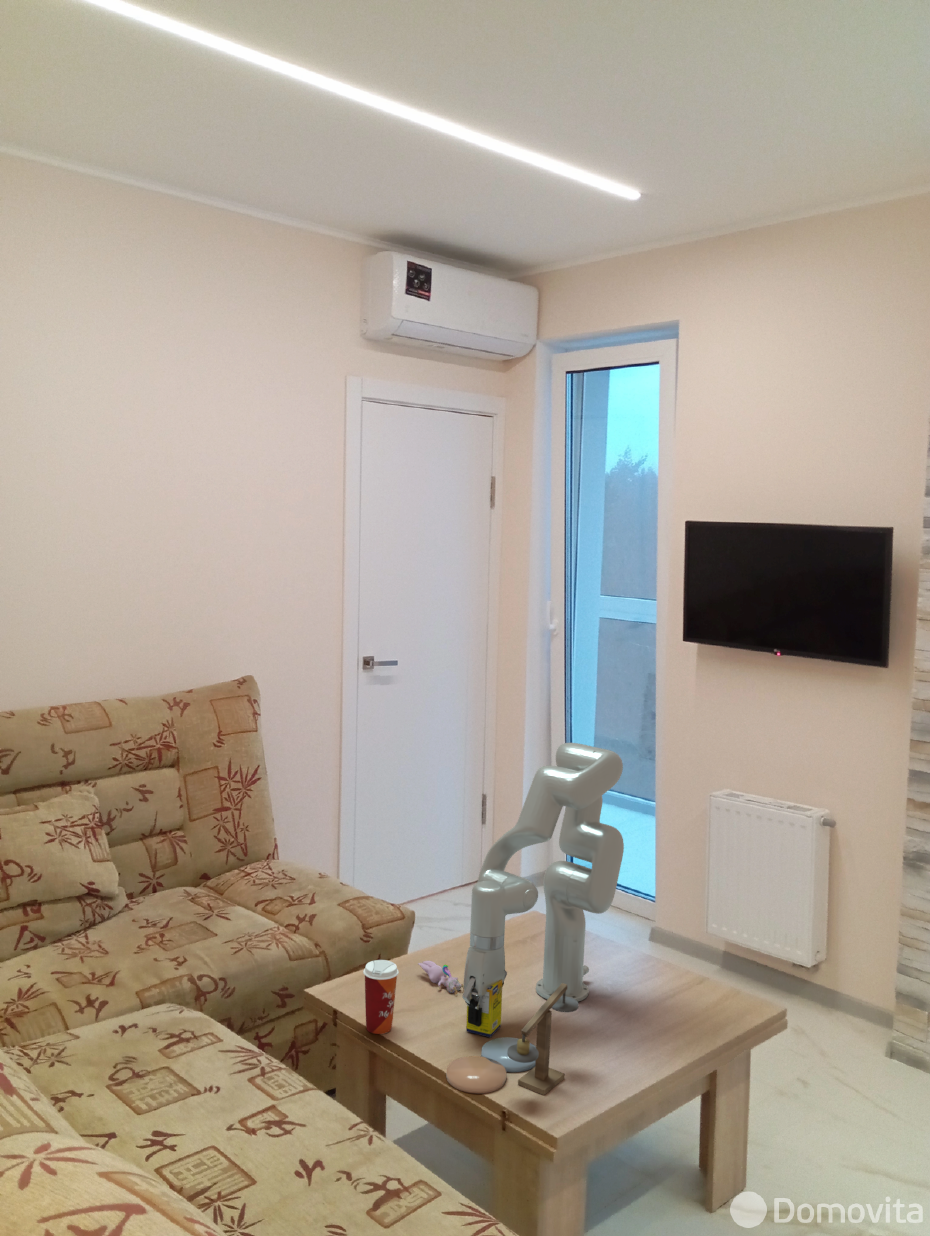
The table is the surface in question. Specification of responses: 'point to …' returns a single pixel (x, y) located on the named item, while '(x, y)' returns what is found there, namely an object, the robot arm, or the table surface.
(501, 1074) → the peach flat disc
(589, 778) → the robot arm
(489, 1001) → the supplement box
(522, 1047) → the balance
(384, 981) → the paper cup
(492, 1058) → the blue-grey flat disc
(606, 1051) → the table surface
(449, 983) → the lilac plush figure
